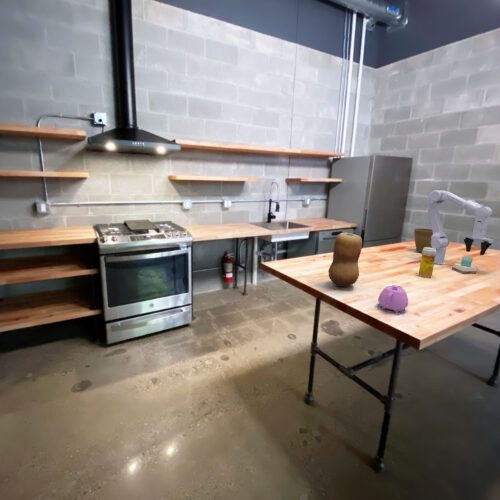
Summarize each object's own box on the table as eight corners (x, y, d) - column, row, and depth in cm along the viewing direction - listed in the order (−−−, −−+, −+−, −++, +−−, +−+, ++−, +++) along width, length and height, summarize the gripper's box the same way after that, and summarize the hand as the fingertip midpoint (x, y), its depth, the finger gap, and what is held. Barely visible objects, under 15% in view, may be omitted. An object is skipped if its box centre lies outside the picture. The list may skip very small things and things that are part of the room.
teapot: (372, 309, 115) (375, 286, 113) (385, 298, 126) (388, 277, 124) (400, 318, 108) (404, 294, 106) (412, 305, 119) (416, 283, 117)
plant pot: (439, 255, 202) (444, 232, 198) (417, 254, 202) (421, 231, 198) (427, 250, 216) (431, 228, 213) (407, 249, 216) (410, 227, 213)
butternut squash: (353, 293, 130) (359, 237, 125) (323, 287, 137) (328, 234, 131) (360, 284, 142) (366, 233, 136) (332, 278, 149) (337, 229, 143)
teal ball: (461, 265, 163) (463, 258, 162) (459, 263, 167) (461, 255, 166) (471, 267, 162) (473, 259, 160) (469, 265, 166) (471, 257, 164)
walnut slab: (462, 275, 162) (462, 271, 161) (451, 270, 170) (452, 267, 169) (475, 275, 162) (476, 271, 162) (464, 270, 170) (465, 267, 170)
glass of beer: (427, 278, 153) (432, 250, 149) (416, 274, 158) (420, 247, 155) (434, 276, 156) (439, 249, 152) (423, 273, 161) (427, 246, 157)
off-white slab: (463, 271, 162) (464, 267, 161) (453, 267, 168) (454, 263, 168) (475, 271, 162) (476, 267, 162) (465, 267, 169) (465, 263, 168)
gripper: (461, 227, 167) (457, 250, 170) (488, 231, 154) (483, 256, 157) (470, 226, 169) (466, 249, 173) (498, 231, 156) (492, 256, 159)
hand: (474, 253), depth 165 cm, fingers open, 7 cm apart
